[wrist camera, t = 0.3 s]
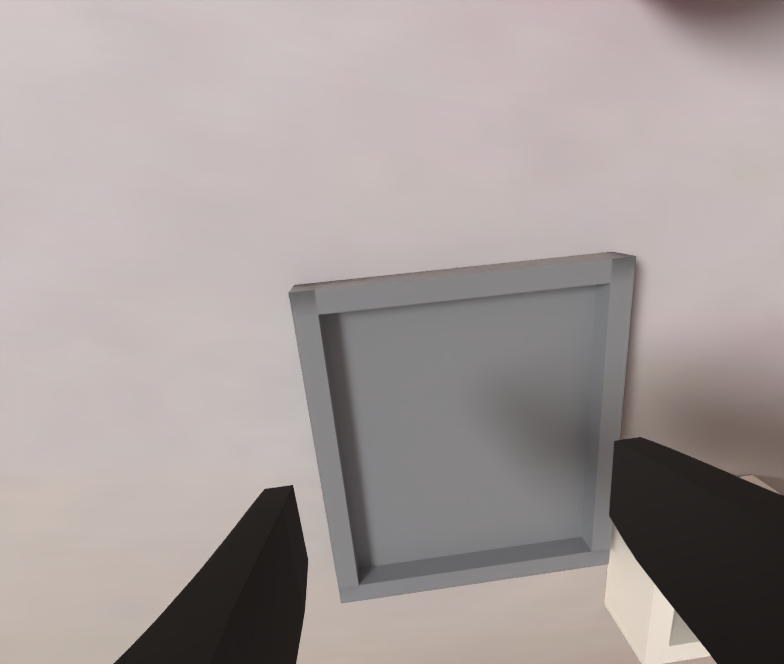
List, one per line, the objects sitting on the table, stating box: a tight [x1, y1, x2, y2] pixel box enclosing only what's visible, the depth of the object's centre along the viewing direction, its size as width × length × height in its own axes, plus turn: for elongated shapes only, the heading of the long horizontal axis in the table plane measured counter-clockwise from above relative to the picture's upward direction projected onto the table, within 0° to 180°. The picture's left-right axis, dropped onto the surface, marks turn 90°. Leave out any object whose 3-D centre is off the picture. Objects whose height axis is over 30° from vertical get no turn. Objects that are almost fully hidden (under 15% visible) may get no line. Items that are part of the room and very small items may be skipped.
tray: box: [289, 252, 636, 603], centre depth 19 cm, size 16×14×2 cm
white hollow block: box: [604, 475, 780, 664], centre depth 22 cm, size 8×8×4 cm
